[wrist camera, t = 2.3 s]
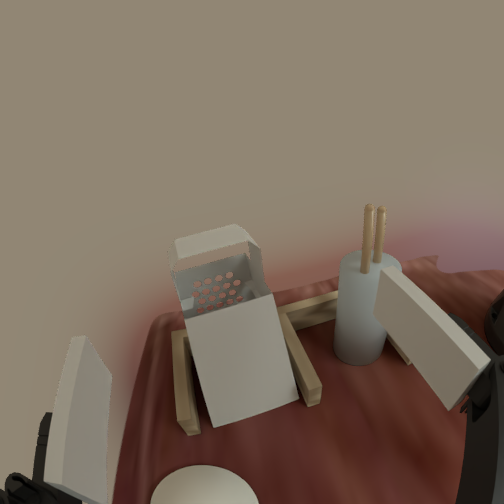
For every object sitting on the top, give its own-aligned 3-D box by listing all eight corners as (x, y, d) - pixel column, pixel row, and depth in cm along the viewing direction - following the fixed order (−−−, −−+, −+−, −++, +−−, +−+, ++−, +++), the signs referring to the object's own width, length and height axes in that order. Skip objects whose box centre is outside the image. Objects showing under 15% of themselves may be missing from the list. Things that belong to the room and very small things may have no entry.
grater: (195, 363, 36) (147, 231, 26) (267, 341, 39) (249, 205, 29) (213, 427, 28) (148, 293, 18) (299, 398, 30) (296, 251, 20)
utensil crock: (367, 321, 39) (383, 185, 29) (391, 354, 33) (425, 208, 23) (324, 336, 38) (329, 194, 28) (346, 373, 32) (367, 220, 22)
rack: (366, 300, 43) (369, 280, 41) (416, 360, 31) (424, 341, 29) (179, 350, 39) (171, 331, 37) (188, 435, 27) (176, 421, 25)
